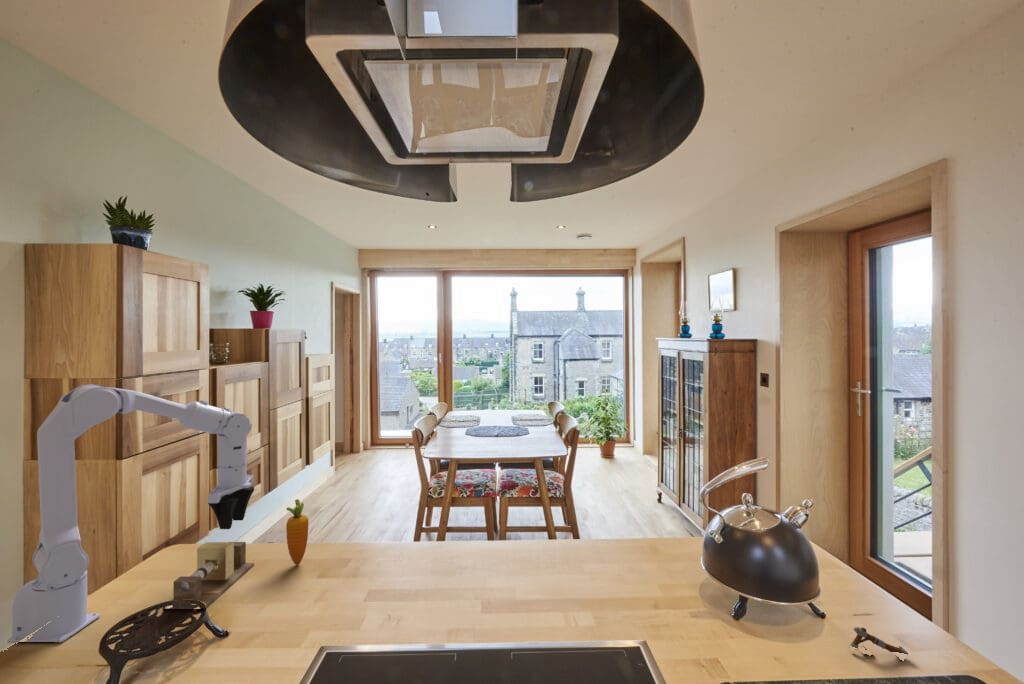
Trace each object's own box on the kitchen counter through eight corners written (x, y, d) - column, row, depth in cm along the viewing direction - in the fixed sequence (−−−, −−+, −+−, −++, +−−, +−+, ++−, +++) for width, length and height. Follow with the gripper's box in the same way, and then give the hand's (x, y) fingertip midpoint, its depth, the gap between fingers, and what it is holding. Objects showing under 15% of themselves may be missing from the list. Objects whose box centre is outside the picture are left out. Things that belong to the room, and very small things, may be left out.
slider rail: (204, 609, 90) (204, 581, 90) (162, 610, 90) (163, 581, 90) (254, 565, 108) (254, 541, 108) (219, 565, 108) (219, 541, 108)
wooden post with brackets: (841, 644, 80) (853, 621, 79) (889, 668, 78) (901, 645, 78) (847, 651, 78) (859, 627, 78) (896, 676, 77) (908, 652, 76)
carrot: (303, 570, 106) (303, 504, 106) (281, 570, 106) (281, 504, 106) (312, 560, 111) (313, 497, 111) (292, 560, 111) (292, 497, 111)
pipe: (189, 592, 90) (189, 581, 90) (178, 592, 90) (178, 581, 90) (241, 550, 108) (241, 541, 108) (232, 550, 108) (232, 541, 108)
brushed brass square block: (225, 579, 99) (225, 548, 99) (197, 579, 99) (197, 548, 99) (233, 572, 102) (233, 542, 102) (206, 572, 102) (206, 542, 102)
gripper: (231, 473, 99) (231, 537, 99) (266, 456, 114) (265, 512, 114) (198, 473, 99) (197, 537, 99) (237, 456, 114) (236, 512, 114)
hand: (232, 524), depth 106 cm, fingers open, 4 cm apart
